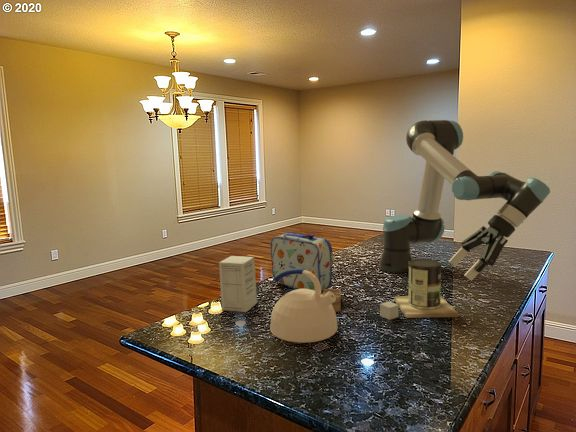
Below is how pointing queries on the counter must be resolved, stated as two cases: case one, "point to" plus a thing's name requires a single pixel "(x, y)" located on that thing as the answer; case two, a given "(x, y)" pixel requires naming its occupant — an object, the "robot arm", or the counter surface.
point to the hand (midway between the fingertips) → (459, 270)
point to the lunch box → (302, 259)
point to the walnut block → (336, 302)
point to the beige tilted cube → (389, 310)
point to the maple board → (413, 312)
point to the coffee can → (424, 283)
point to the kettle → (304, 313)
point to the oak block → (337, 291)
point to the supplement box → (238, 283)
